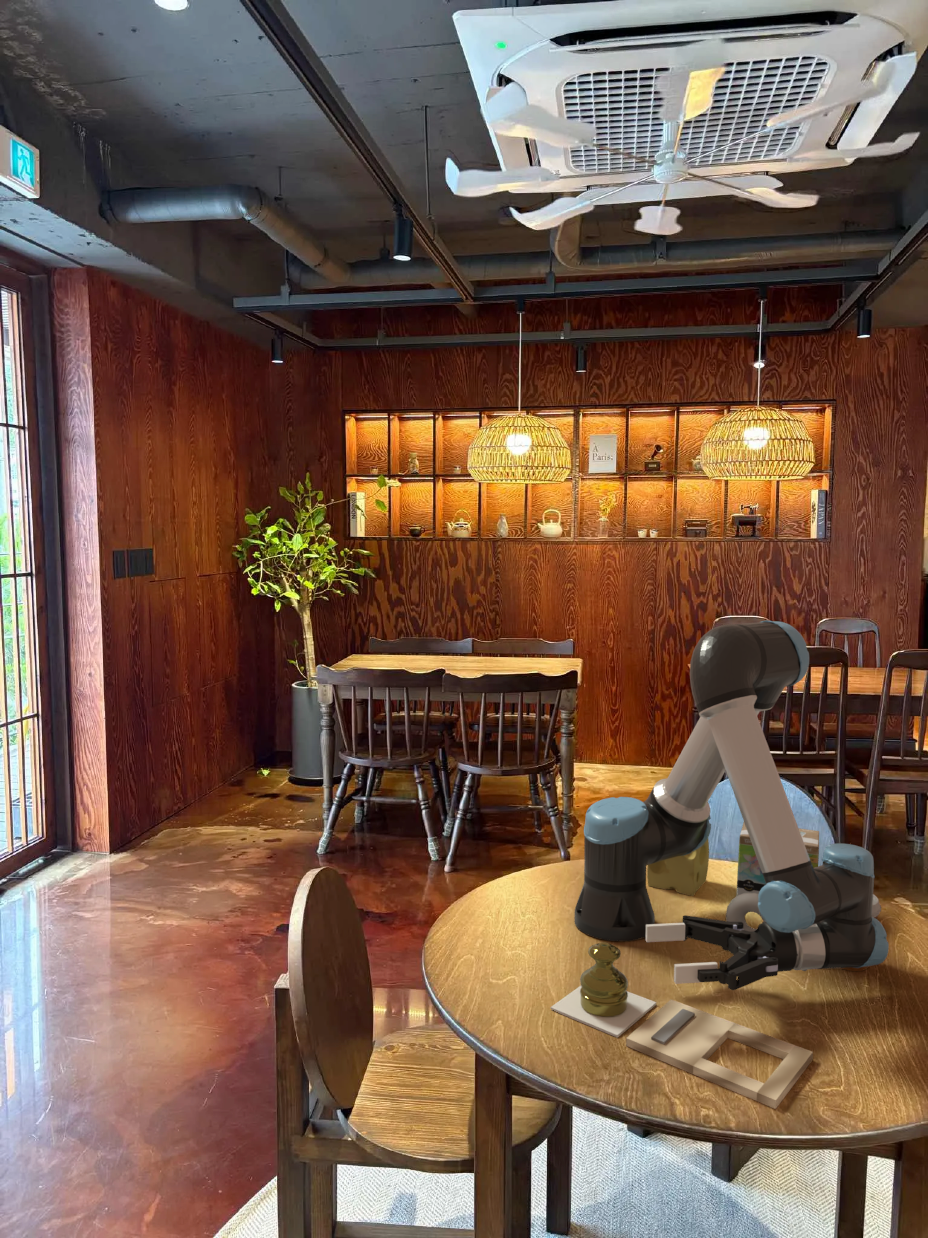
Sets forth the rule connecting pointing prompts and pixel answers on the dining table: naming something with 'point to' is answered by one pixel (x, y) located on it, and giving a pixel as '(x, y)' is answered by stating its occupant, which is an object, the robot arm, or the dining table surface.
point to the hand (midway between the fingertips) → (659, 952)
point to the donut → (743, 909)
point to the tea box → (748, 864)
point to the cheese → (681, 871)
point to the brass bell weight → (604, 983)
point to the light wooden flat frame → (698, 1035)
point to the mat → (609, 1025)
